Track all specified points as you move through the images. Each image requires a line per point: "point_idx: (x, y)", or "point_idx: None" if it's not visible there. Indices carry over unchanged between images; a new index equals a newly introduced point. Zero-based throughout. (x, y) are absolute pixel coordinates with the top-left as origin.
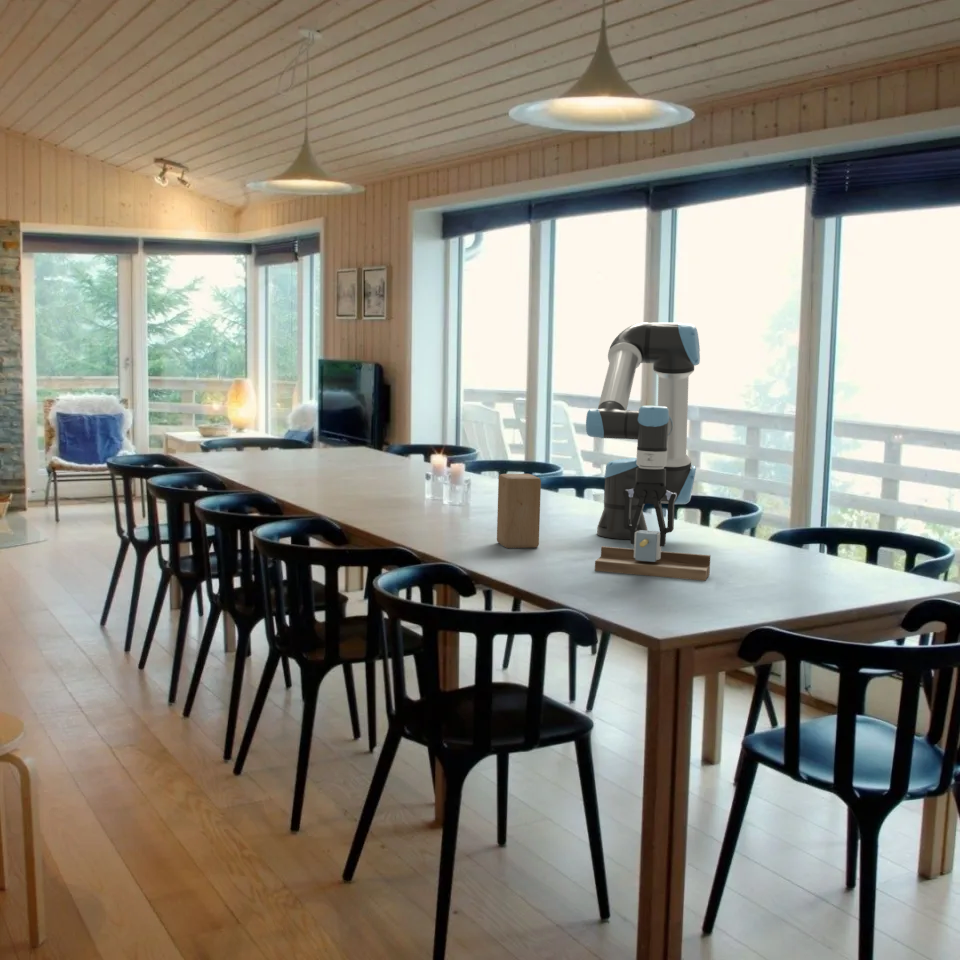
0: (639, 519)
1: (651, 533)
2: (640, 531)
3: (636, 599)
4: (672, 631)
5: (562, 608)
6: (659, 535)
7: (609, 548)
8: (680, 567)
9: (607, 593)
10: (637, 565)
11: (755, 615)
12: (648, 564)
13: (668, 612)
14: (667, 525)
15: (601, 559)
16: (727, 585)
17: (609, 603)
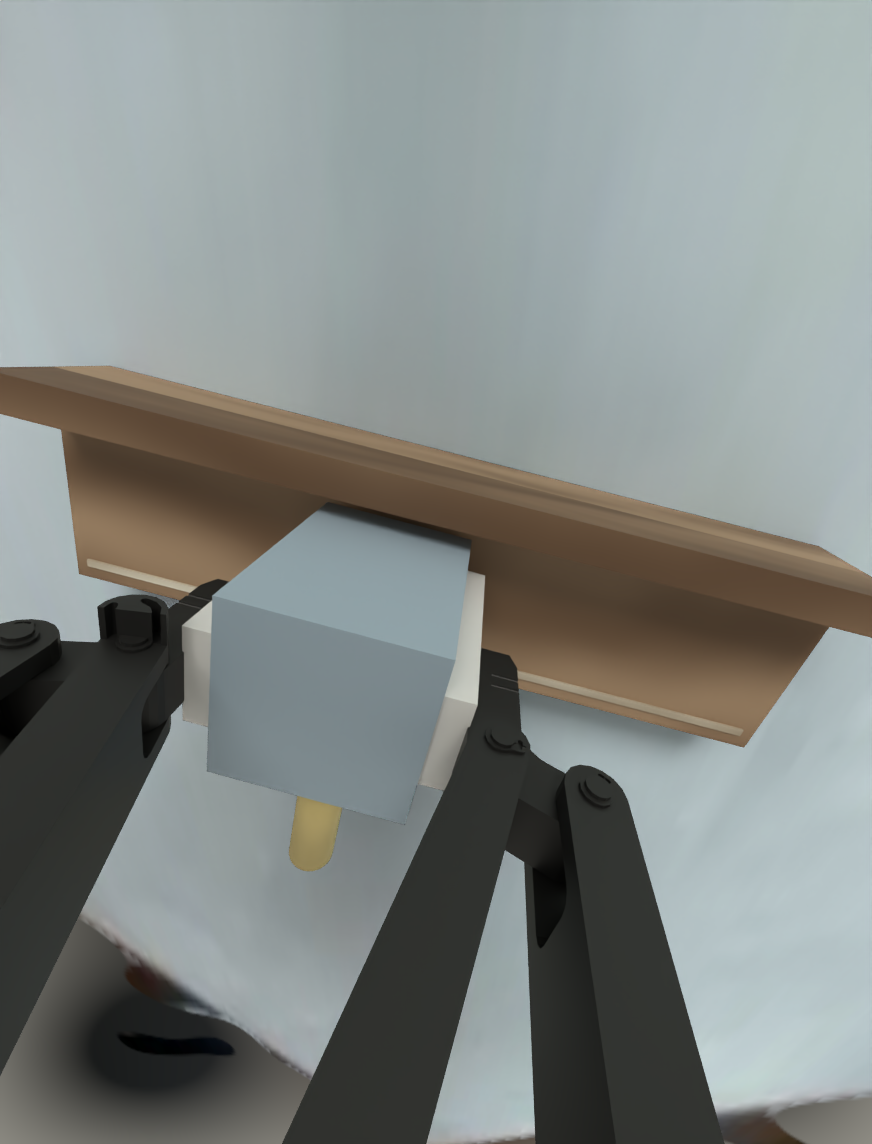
0: (102, 774)
1: (356, 782)
2: (230, 692)
3: (365, 952)
4: (449, 1128)
5: (185, 1006)
6: (443, 782)
7: (62, 425)
8: (597, 692)
9: (267, 899)
10: None
11: (708, 1077)
12: None
13: (454, 1043)
14: (527, 922)
15: (97, 520)
16: (803, 783)
17: (291, 980)
